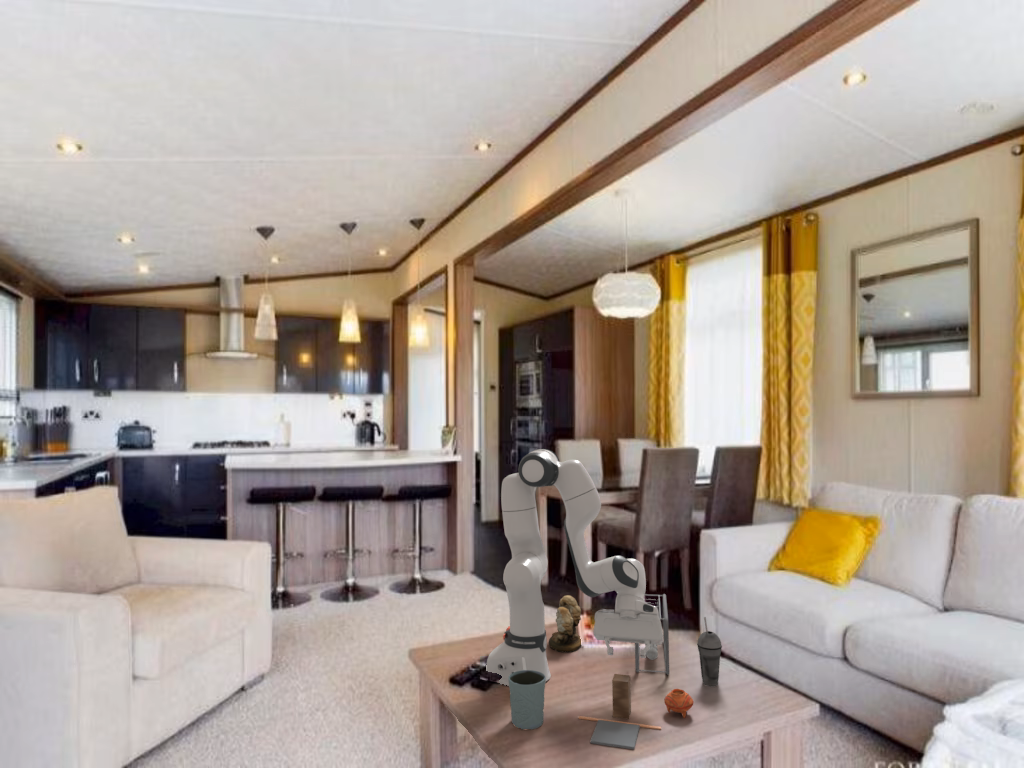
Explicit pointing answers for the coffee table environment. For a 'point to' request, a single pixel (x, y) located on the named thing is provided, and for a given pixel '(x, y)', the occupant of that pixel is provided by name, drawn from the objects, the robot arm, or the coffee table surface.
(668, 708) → the pot
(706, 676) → the beverage cup
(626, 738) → the mat
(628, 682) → the wooden square post
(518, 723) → the teal tumbler
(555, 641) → the brown lumpy statue
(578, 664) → the coffee table surface
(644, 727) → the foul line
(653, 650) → the newton's cradle
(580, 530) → the robot arm
